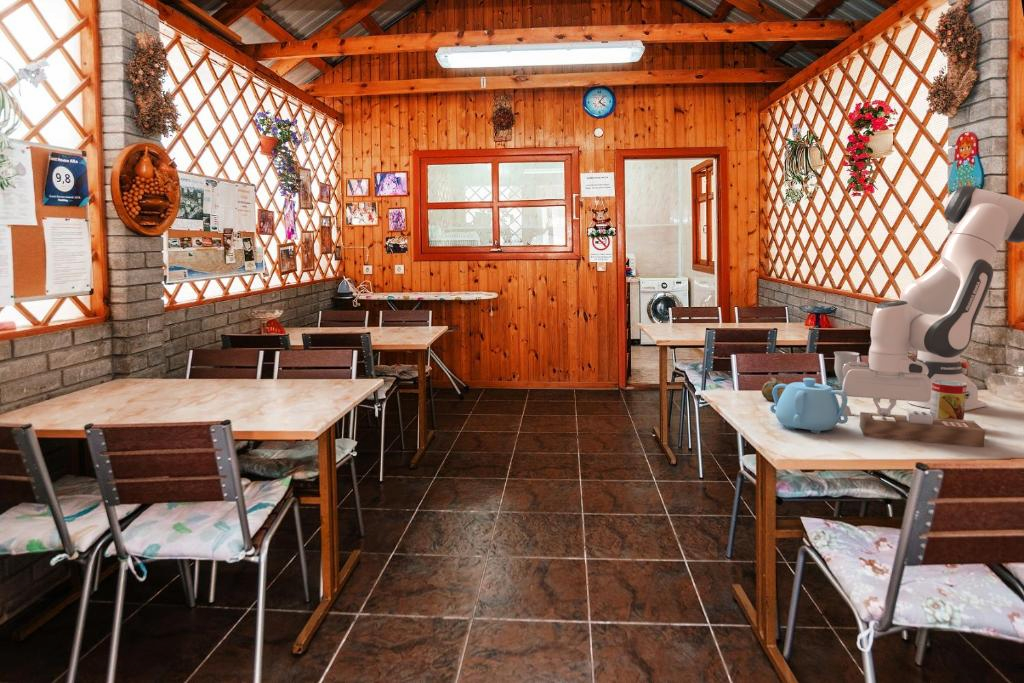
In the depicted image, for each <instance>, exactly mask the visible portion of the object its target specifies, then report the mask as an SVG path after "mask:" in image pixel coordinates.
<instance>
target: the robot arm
mask: <svg viewBox="0 0 1024 683" xmlns="http://www.w3.org/2000/svg"><path fill="white" fill-rule="evenodd" d="M943 215H944V217H945V219H946V220H947V221H948V222H950V223H952V224H954V225H956V224H957V225H956V226H955V228H954V229H953V231H952V232H951V234H950V236H949V237H948V239H947V241H946V242H945V243H944V245H943V248H942V250H941V254H940V259H939V260H938V261H937V262H936V263H935V264H934V265H933V266H932V267H931V268H930V269H929V270H928V271H926V272H925V273H924V274H922V275H921V276H920V277H918V278H917V279H914V280H912V281H911V282H907V283H906V284H904V286H903V288H902V289H901V291H900V292H899V293H900V294H899V300H897V299H896V300H887V301H883V302H879V303H878V304H877V305H876V306H875V307H874V310H873V312H872V317H871V323H870V338H871V342H870V344H871V345H870V347H869V350H868V360H867V362H866V361H857V362H853V361H851V362H849V363H846V364H845V365H844V366H843V368H842V375H843V376H844V380H843V386H842V389H841V390H842V391H841V392H843V393H844V394H845V395H846V396H847V397H852V398H853V397H854V398H863V399H864V398H866V399H873V400H872V401H873V403H874V405H875V406H876V407H875V408H877V410H876V413H877V415H879V416H890V414H891V412H892V410H893V408H894V407H895V406H896V405H897V401H905V402H906V401H907V403H909V404H911V405H913V406H917V407H922V408H928V409H930V403H931V391H932V381H934V380H951V381H959V382H963V383H966V384H967V388H966V399H965V410H964V412H965V411H970V410H974V409H981V408H984V407H987V402H985V401H982V400H978V399H979V389H978V386H977V385H976V384H975V383H974V382H972V380H970V379H969V378H968V377H967V376H966V375H965V374H963V373H964V371H963V369H964V370H968V369H969V368H970V363H969V362H965V361H960V356H961V354H962V353H963V352H964V351H965V350H966V349H967V348H968V347H969V345H970V343H971V340H972V334H973V330H974V326H975V323H976V321H977V318H978V316H979V314H980V312H981V311H982V310H983V309H984V308H985V307H986V306H987V302H988V298H989V296H988V292H989V289H990V287H991V284H992V280H993V277H994V269H993V266H992V263H993V259H994V258H995V255H996V253H997V252H998V250H999V248H1000V246H1001V244H1002V242H1003V240H1006V242H1009V243H1017V244H1020V243H1024V201H1023V200H1021V199H1019V198H1016V197H1013V196H1010V195H1008V194H1005V193H1003V194H1002V193H999V192H996V191H991V190H989V189H988V190H987V189H981V188H977V187H976V186H974V185H962V186H960V187H958V188H956V190H955V191H953V192H952V193H951V194H950V195H949V196H948V198H947V199H946V201H945V204H944V212H943ZM909 349H911V350H915V351H917V356H916V358H915V359H913V358H909ZM848 364H849V365H848ZM881 400H888V402H889V405H888V406H887V407H881V406H880V405H879V404H880V403H881Z"/></svg>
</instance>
